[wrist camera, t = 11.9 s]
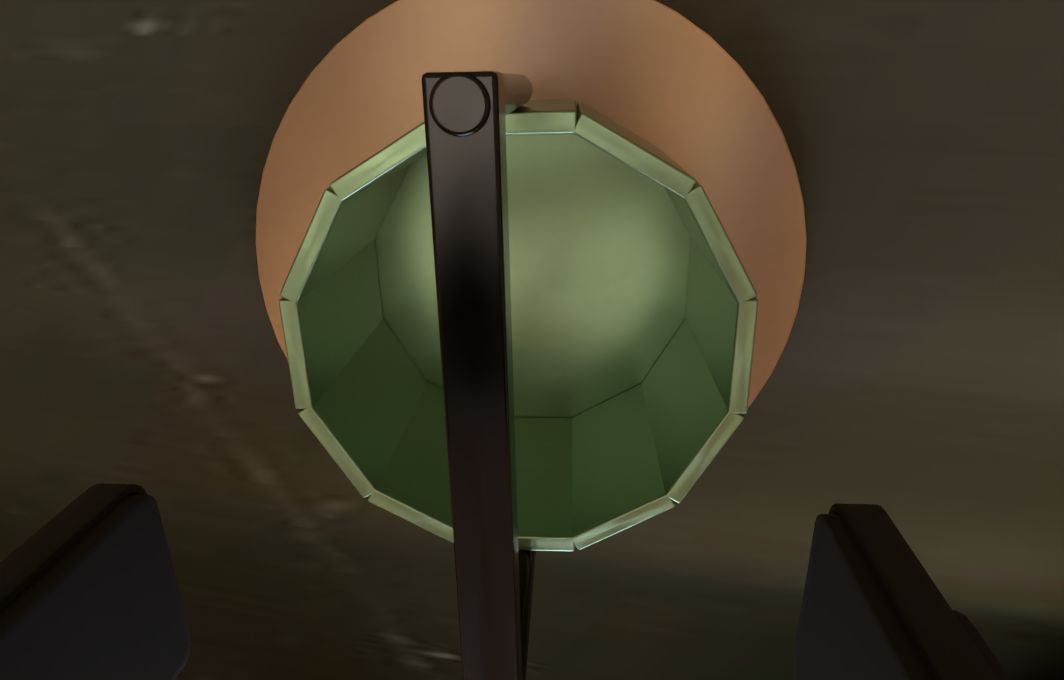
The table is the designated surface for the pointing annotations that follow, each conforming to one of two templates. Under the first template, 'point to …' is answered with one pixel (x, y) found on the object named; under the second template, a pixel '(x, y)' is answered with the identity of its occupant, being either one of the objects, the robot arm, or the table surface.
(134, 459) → the table surface
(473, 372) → the pot
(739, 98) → the trivet
